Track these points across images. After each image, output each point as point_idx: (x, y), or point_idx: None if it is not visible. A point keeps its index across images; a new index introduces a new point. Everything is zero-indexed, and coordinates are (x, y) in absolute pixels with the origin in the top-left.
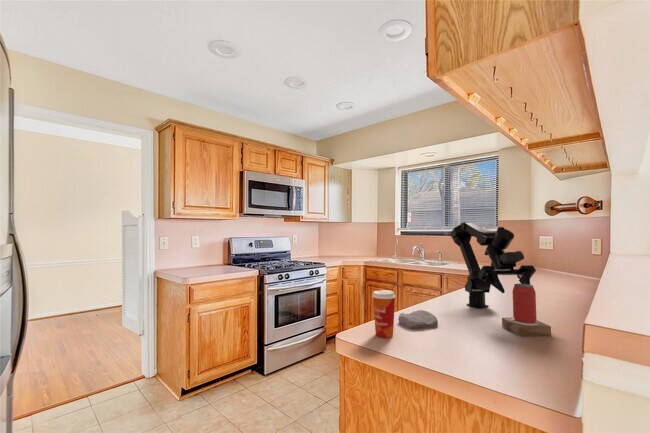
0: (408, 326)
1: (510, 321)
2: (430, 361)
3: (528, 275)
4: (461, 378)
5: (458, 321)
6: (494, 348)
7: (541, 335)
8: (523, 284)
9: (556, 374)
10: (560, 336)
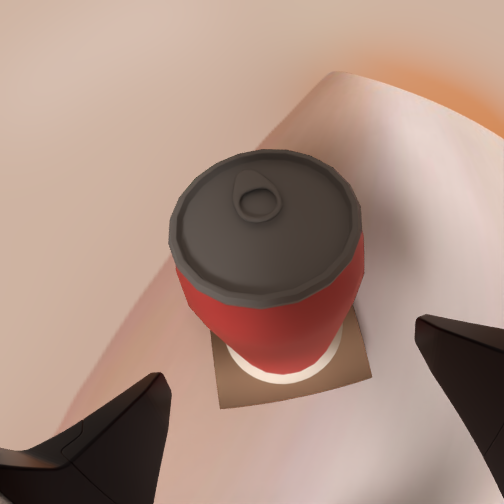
0: None
1: (351, 315)
2: (477, 131)
3: (17, 455)
4: (432, 101)
5: None
6: (409, 172)
7: None
8: (225, 289)
9: (319, 108)
10: None
